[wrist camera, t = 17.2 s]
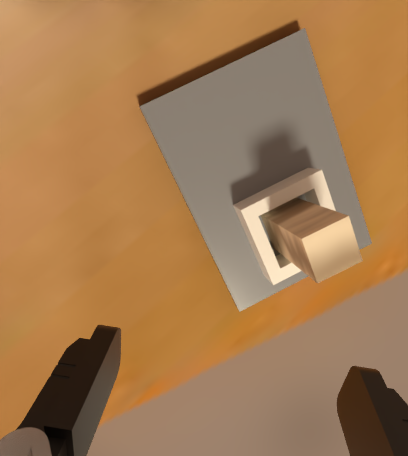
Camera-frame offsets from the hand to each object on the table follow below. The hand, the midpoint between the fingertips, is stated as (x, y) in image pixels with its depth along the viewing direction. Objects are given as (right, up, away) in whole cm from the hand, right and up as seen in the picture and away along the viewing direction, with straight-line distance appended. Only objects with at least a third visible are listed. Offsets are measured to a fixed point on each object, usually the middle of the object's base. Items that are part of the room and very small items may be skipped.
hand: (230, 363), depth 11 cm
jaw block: (+8, +5, +25) cm, 27 cm away
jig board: (+6, +10, +25) cm, 28 cm away
